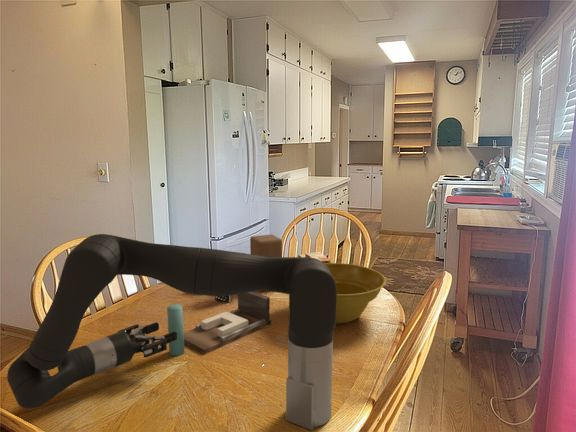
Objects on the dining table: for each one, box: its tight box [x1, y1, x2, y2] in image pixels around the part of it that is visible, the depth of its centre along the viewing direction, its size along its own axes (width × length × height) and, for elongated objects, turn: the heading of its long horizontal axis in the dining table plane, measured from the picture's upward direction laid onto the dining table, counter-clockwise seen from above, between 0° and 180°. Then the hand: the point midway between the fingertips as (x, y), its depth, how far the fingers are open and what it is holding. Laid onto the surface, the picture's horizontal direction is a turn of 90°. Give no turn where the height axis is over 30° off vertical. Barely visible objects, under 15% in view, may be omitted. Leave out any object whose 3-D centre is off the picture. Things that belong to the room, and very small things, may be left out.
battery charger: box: [214, 295, 232, 304], centre depth 154 cm, size 7×4×11 cm, turn 49°
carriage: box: [200, 310, 248, 337], centre depth 129 cm, size 10×10×2 cm
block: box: [249, 234, 283, 293], centre depth 168 cm, size 10×10×20 cm
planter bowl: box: [324, 262, 387, 325], centre depth 141 cm, size 32×32×13 cm
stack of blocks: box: [297, 251, 332, 263], centre depth 175 cm, size 21×6×12 cm, turn 16°
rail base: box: [184, 291, 273, 355], centre depth 129 cm, size 26×13×9 cm, turn 138°
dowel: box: [166, 303, 185, 357], centre depth 116 cm, size 4×4×13 cm
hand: (166, 330), depth 114 cm, fingers open, 8 cm apart
